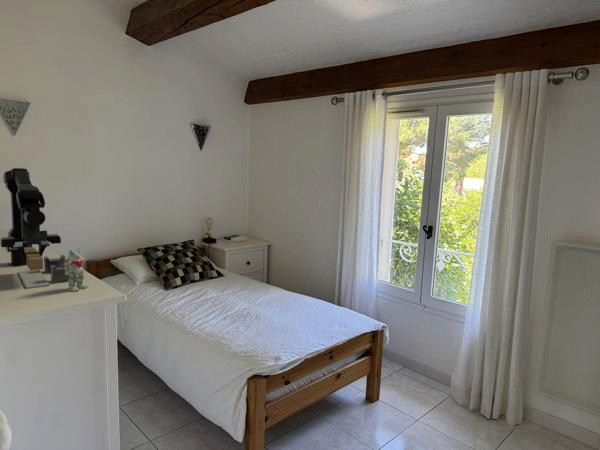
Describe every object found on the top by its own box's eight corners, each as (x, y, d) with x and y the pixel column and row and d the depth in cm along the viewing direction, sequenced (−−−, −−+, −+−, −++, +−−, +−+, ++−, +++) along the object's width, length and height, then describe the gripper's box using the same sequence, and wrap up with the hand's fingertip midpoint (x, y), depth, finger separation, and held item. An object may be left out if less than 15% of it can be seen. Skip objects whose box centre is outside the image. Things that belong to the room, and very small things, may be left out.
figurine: (63, 293, 141) (61, 251, 139) (62, 287, 147) (60, 246, 145) (89, 290, 145) (87, 249, 143) (86, 284, 152) (85, 245, 149)
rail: (22, 257, 161) (22, 248, 161) (34, 256, 164) (34, 247, 163) (30, 270, 145) (29, 259, 144) (43, 269, 147) (42, 258, 147)
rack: (44, 271, 166) (43, 256, 165) (63, 269, 170) (63, 254, 169) (52, 283, 151) (52, 267, 150) (74, 280, 155) (73, 265, 154)
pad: (18, 272, 162) (18, 271, 162) (39, 270, 167) (39, 269, 167) (26, 288, 143) (26, 287, 143) (49, 285, 148) (49, 284, 148)
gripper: (1, 226, 140) (4, 270, 142) (63, 224, 152) (64, 264, 154) (-1, 222, 148) (1, 263, 151) (57, 220, 160) (58, 258, 162)
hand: (32, 262), depth 154 cm, fingers closed on rail, 4 cm apart
